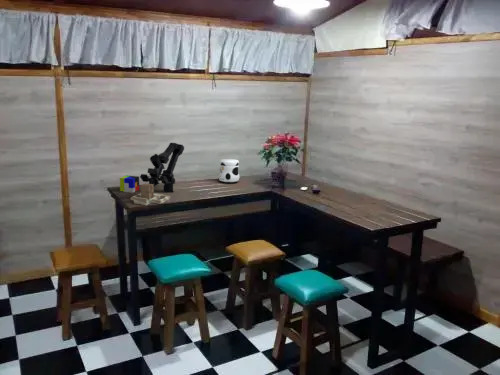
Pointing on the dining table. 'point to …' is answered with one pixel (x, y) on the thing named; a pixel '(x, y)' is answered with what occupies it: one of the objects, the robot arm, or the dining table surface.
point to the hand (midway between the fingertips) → (149, 189)
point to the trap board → (144, 201)
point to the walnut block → (147, 191)
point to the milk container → (229, 170)
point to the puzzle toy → (129, 183)
